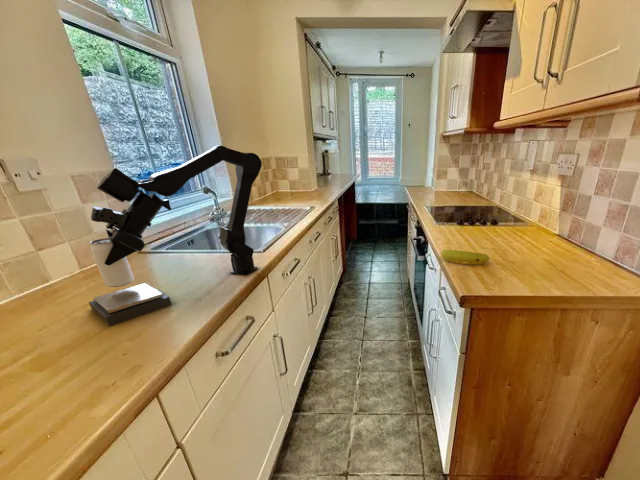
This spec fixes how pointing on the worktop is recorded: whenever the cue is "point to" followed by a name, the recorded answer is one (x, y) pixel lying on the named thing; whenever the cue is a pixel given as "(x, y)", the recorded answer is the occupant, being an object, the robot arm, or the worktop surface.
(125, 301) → the scale pan
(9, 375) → the worktop surface
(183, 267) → the worktop surface
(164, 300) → the scale
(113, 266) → the can
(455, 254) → the banana
